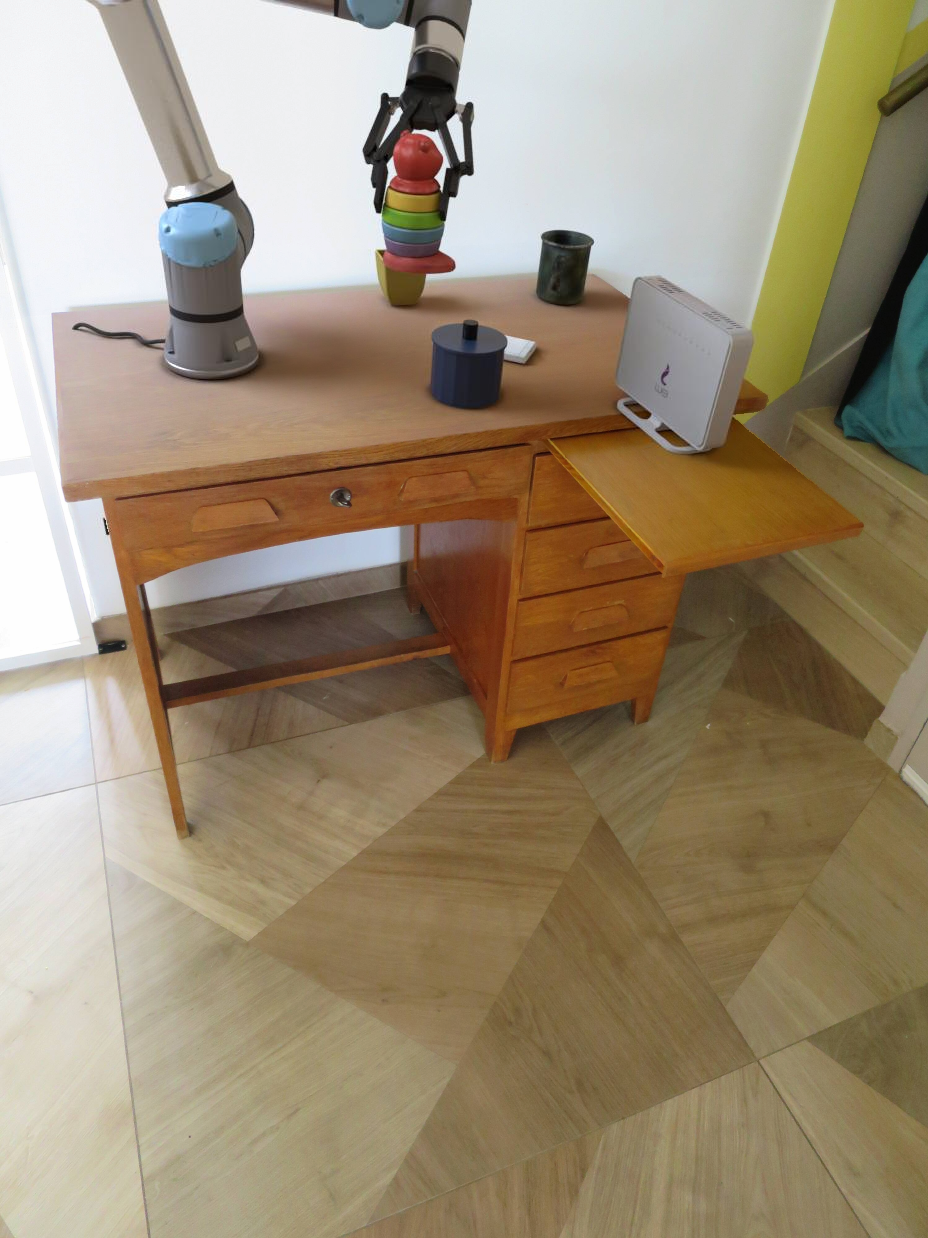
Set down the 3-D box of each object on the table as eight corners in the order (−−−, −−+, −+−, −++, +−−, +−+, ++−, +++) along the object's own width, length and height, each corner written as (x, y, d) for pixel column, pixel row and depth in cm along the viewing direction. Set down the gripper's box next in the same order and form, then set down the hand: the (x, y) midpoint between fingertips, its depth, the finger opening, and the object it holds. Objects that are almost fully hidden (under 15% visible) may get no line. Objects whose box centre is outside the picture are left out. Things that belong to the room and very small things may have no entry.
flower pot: (373, 294, 178) (374, 248, 173) (415, 292, 181) (417, 247, 175) (383, 310, 172) (384, 262, 166) (426, 308, 174) (429, 261, 169)
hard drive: (458, 342, 158) (524, 355, 156) (473, 327, 164) (536, 340, 162) (458, 351, 159) (523, 364, 157) (472, 335, 165) (535, 348, 163)
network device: (600, 394, 149) (622, 274, 137) (643, 388, 152) (669, 271, 140) (686, 466, 132) (721, 337, 119) (733, 459, 135) (772, 331, 122)
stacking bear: (460, 271, 132) (468, 140, 121) (399, 278, 128) (401, 143, 117) (428, 249, 140) (433, 123, 128) (369, 255, 135) (369, 125, 124)
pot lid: (424, 353, 136) (425, 330, 134) (438, 325, 146) (439, 303, 143) (502, 364, 135) (504, 341, 133) (510, 335, 145) (513, 313, 142)
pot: (424, 403, 142) (427, 349, 136) (437, 374, 150) (440, 323, 145) (494, 412, 141) (500, 359, 135) (502, 383, 150) (508, 332, 144)
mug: (588, 292, 189) (598, 234, 181) (577, 315, 178) (586, 254, 170) (539, 284, 191) (546, 226, 183) (525, 306, 180) (532, 245, 172)
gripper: (507, 93, 131) (484, 234, 129) (366, 78, 133) (341, 217, 131) (507, 55, 124) (483, 205, 122) (357, 40, 126) (331, 187, 123)
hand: (409, 211), depth 126 cm, fingers closed on stacking bear, 9 cm apart
